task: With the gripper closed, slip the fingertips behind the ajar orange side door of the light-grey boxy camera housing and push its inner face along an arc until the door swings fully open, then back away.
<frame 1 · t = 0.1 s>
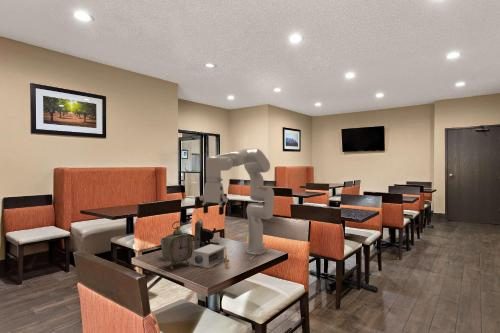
hand: (213, 213, 151), 31 cm above the table, tool pointing down, fingers open, 9 cm apart
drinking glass: (169, 258, 177), on the table
vintage camera: (207, 250, 194), on the table
side door: (227, 257, 166), point 4 cm above the table, hinge at 35.0°
tabletop clock: (177, 266, 163), on the table
camera housing: (209, 262, 170), on the table
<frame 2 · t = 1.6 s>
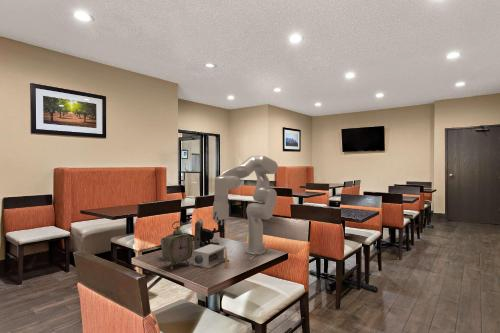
hand: (221, 231, 163), 19 cm above the table, tool pointing down, fingers closed
nothing on the table moved.
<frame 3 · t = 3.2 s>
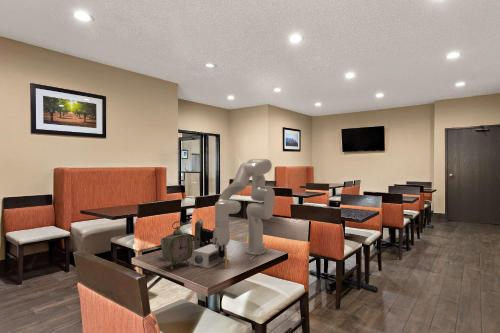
hand: (221, 256, 163), 5 cm above the table, tool pointing down, fingers closed
side door: (227, 257, 166), point 4 cm above the table, hinge at 35.0°, touching gripper
everything else where it was.
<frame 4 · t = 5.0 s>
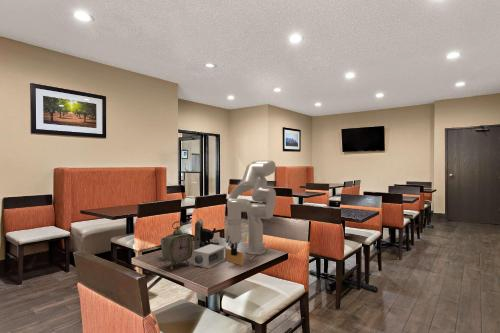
hand: (233, 255, 165), 6 cm above the table, tool pointing down, fingers closed
side door: (234, 256, 168), point 4 cm above the table, hinge at 75.2°, touching gripper
everything else where it was.
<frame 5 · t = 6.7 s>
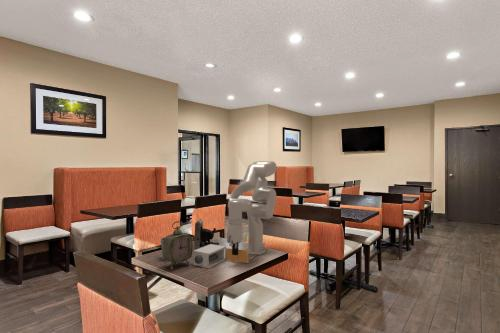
hand: (235, 254, 166), 6 cm above the table, tool pointing down, fingers closed
side door: (236, 255, 171), point 4 cm above the table, hinge at 97.9°
everything else where it was.
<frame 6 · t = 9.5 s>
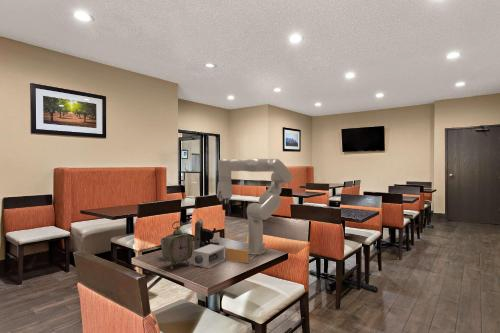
hand: (225, 209, 178), 29 cm above the table, tool pointing down, fingers closed
nothing on the table moved.
at the end: side door at +98° (first picture: +35°) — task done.
